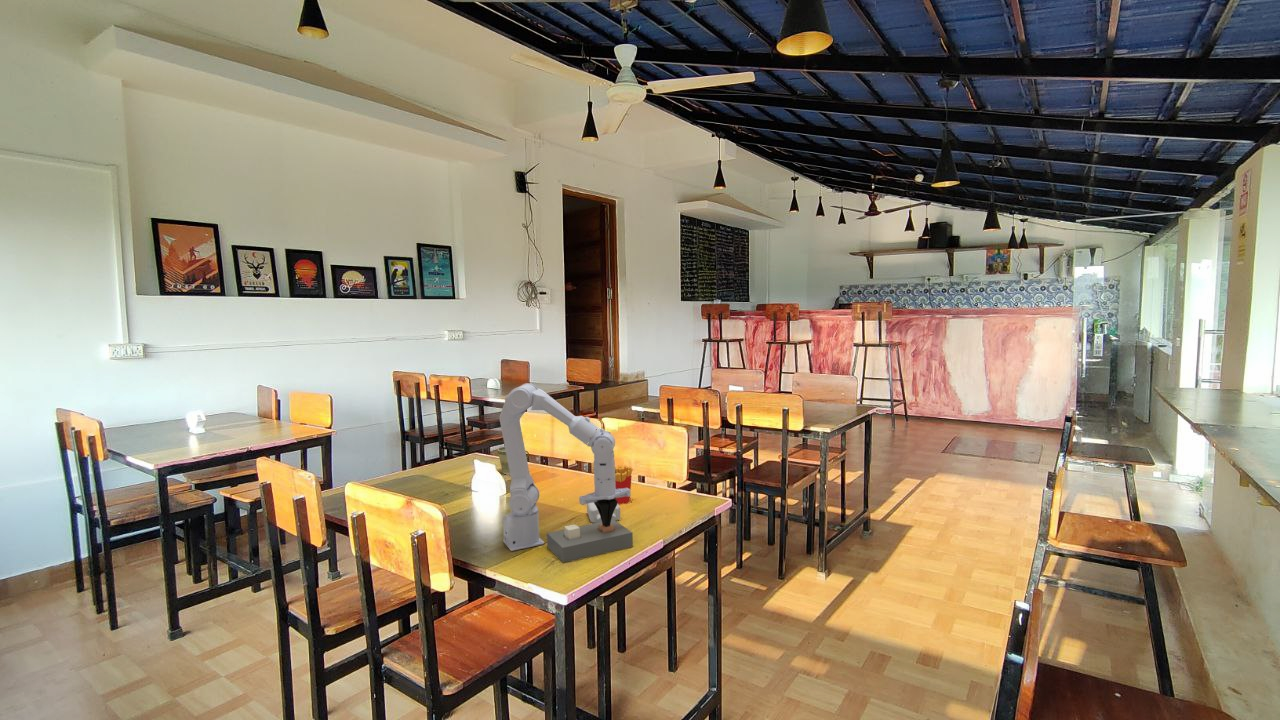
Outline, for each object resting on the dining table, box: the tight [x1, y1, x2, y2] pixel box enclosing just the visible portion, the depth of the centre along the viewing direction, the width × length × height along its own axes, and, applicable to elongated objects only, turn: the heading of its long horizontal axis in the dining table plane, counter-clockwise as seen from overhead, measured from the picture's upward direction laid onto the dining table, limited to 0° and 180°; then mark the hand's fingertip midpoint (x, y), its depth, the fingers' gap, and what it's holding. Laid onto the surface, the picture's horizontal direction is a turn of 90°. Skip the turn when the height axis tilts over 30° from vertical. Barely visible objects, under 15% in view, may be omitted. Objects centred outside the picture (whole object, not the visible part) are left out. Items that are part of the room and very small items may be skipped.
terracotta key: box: [598, 524, 614, 533], centre depth 169 cm, size 3×3×3 cm
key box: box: [546, 519, 634, 564], centre depth 166 cm, size 20×12×4 cm, turn 118°
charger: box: [586, 502, 621, 524], centre depth 187 cm, size 5×9×15 cm
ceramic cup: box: [497, 445, 530, 476], centre depth 242 cm, size 13×10×10 cm
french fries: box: [615, 464, 633, 505], centre depth 204 cm, size 8×4×12 cm, turn 103°
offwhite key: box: [563, 524, 580, 540], centre depth 164 cm, size 3×3×3 cm
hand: (606, 525), depth 168 cm, fingers closed, pressing on terracotta key
